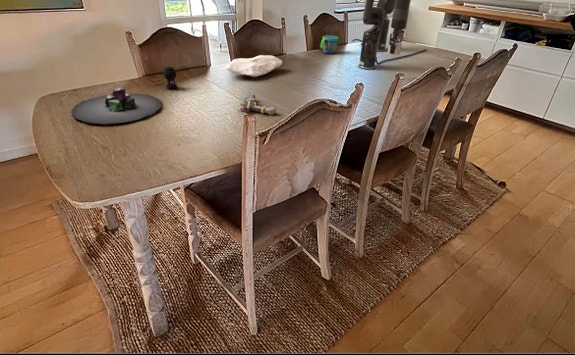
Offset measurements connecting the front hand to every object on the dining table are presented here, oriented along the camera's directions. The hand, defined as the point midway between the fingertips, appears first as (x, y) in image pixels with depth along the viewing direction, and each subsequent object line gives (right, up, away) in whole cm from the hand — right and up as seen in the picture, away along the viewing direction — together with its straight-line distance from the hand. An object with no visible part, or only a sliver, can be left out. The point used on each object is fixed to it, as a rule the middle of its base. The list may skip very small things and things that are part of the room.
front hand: (393, 52), depth 193 cm
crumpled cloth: (-76, -9, +7) cm, 76 cm away
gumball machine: (-113, -23, -18) cm, 116 cm away
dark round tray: (-127, -38, -41) cm, 139 cm away
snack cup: (-29, +17, +52) cm, 62 cm away
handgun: (-69, -36, -34) cm, 85 cm away
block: (0, -1, 0) cm, 1 cm away
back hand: (+37, +65, +64) cm, 99 cm away
